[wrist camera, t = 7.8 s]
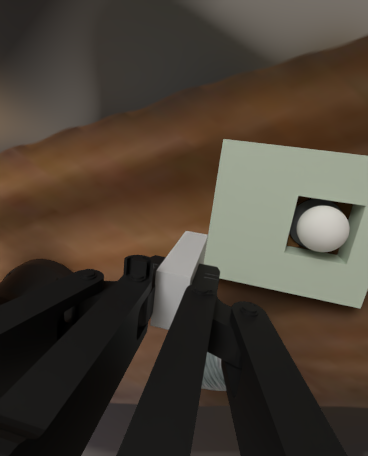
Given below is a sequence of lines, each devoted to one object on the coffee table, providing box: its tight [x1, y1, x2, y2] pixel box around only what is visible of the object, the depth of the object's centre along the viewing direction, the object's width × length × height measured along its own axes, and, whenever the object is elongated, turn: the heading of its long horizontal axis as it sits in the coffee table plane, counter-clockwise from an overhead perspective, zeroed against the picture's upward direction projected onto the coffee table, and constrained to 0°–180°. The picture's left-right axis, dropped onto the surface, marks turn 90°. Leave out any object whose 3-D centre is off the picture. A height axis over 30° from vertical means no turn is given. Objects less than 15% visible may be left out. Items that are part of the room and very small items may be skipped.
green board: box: [204, 139, 368, 309], centre depth 30 cm, size 18×16×3 cm
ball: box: [297, 206, 350, 252], centre depth 28 cm, size 5×5×5 cm
